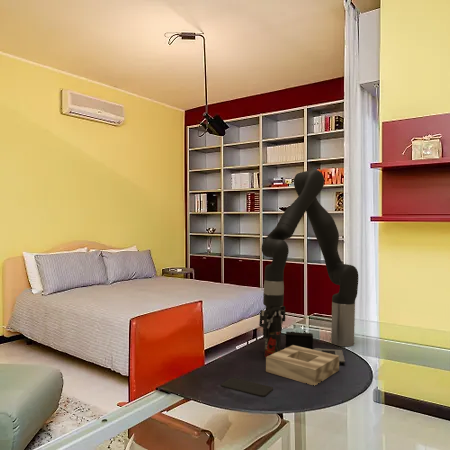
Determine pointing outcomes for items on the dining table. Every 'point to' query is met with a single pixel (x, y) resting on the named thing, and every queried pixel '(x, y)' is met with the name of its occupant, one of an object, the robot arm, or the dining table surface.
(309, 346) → the digital camera
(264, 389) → the phone
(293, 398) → the dining table surface
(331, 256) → the robot arm
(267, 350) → the deodorant
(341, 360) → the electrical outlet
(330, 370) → the holder
